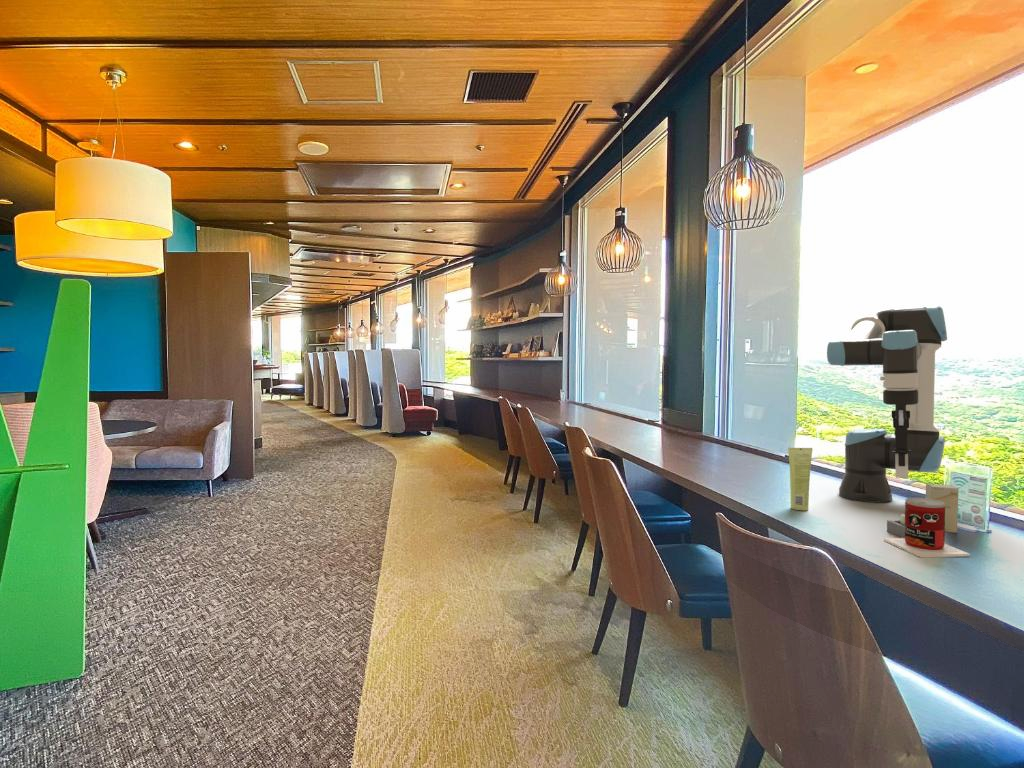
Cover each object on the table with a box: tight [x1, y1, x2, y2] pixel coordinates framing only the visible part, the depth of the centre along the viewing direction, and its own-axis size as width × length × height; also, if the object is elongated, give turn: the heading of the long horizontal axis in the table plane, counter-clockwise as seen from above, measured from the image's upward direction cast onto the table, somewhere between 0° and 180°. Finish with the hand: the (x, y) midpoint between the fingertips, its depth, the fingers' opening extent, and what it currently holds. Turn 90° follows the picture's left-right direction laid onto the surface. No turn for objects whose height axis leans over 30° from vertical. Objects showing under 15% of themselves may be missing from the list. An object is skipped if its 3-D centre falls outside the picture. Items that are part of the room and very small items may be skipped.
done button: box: [899, 513, 905, 526], centre depth 142 cm, size 4×4×3 cm
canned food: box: [904, 497, 946, 550], centre depth 132 cm, size 8×8×11 cm
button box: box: [886, 519, 905, 538], centre depth 142 cm, size 7×7×3 cm
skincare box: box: [925, 483, 959, 533], centre depth 146 cm, size 6×4×12 cm
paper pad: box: [882, 537, 971, 558], centre depth 132 cm, size 12×12×1 cm
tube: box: [787, 447, 813, 511], centre depth 168 cm, size 6×5×20 cm
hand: (901, 477), depth 142 cm, fingers closed
